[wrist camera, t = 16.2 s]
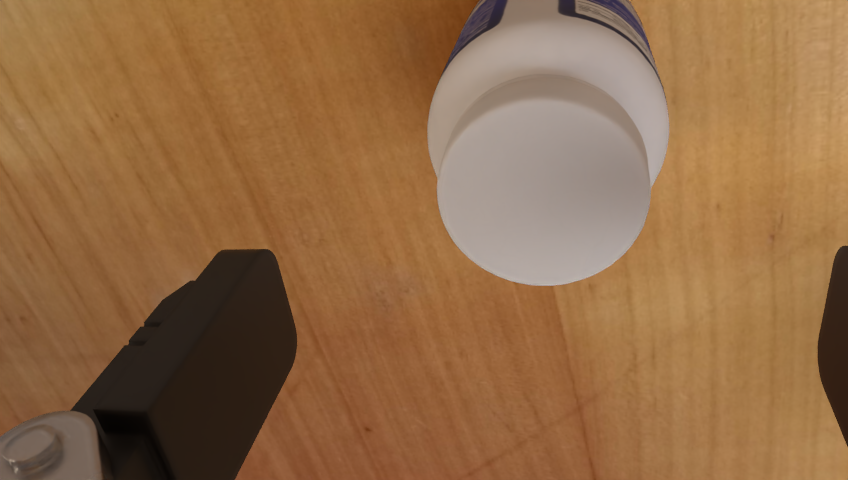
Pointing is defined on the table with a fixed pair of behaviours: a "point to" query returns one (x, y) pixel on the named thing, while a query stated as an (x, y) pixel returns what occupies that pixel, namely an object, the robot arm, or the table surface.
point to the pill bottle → (548, 137)
